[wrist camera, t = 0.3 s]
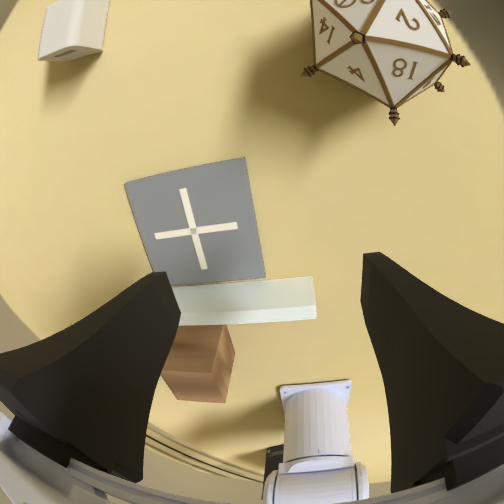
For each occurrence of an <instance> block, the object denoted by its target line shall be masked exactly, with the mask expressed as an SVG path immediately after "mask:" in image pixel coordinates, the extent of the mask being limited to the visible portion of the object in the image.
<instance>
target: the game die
mask: <svg viewBox="0 0 504 504" xmlns="http://www.w3.org/2000/svg"><path fill="white" fill-rule="evenodd" d="M310 7H311V19H312V34H313V51H314V65H313V66H310V67H309V66H308V68H306V69H305V68H304V71H303V73H302V75H301V76H310V77H311V75H313V74H314V73H315V72H316V71H320V72H323V73H325V74H327V75H329V76H331V77H333V78H335V79H338V80H340V81H342V82H344V83H346V84H348V85H350V86H352V87H353V88H355V89H357V90H359V91H361V92H363V93H365V94H367V95H368V96H370V97H372V98H374V99H375V100H377V101H379V102H381V103H382V104H384V105H386V106H387V107H389V108H390V112H389V115H390V117H389V119H390V120H391V121H392V123H393V125H394V126H395V125H396V123H397V122H398V120H399V119H400V118H399V113H398V112H397V108H398V107H399V106H401V105H402V104H404V103H406V102H407V101H409V100H410V99H412V98H414V97H415V96H417V95H418V94H420V93H422V92H423V91H425V90H427V89H428V88H430V87H431V86H433V85H434V86H435V89H437V91H438V92H439V91H441V92H444V86H443V85H442V84H441V83H440V82H437V81H438V80H439V79H440V77H441V76H442V75H443V73H444V72H445V71H446V69H447V68H448V67H449V65H450V64H451V63H452V61H454V62H455V63H456V64H457V65H461V66H462V67H464V66H468V65H471V64H470V63H469V62H468V61H467V60H466V58H465V56H460V54H458V55H455V54H453V51H452V48H451V45H450V41H449V38H448V35H447V32H446V29H445V26H444V23H443V20H442V18H447V17H448V18H450V17H449V16H450V13H451V12H449V11H447V10H445V9H443V10H440V12H437V11H436V10H435V9H434V7H433V6H432V5H431V4H430V3H429V2H428V1H427V0H310Z"/></svg>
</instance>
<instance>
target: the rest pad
mask: <svg viewBox="0 0 504 504" xmlns="http://www.w3.org/2000/svg"><path fill="white" fill-rule="evenodd" d="M124 185H125V188H126V192H127V195H128V198H129V202H130V205H131V208H132V211H133V214H134V217H135V220H136V224H137V227H138V230H139V232H140V235H141V238H142V241H143V244H144V247H145V250H146V252H147V255H148V258H149V261H150V263H151V266H152V269H153V271H154V272H163V271H166V273H167V276H168V279H169V282H170V284H171V285H181V284H196V283H209V282H223V281H235V280H247V279H259V278H266V274H265V268H264V262H263V257H262V251H261V245H260V239H259V234H258V228H257V222H256V217H255V211H254V206H253V200H252V194H251V189H250V183H249V178H248V172H247V167H246V161H245V157H244V158H238V159H232V160H226V161H220V162H215V163H209V164H204V165H199V166H194V167H189V168H184V169H180V170H175V171H171V172H166V173H162V174H158V175H154V176H149V177H145V178H141V179H138V180H134V181H130V182H126V183H124Z"/></svg>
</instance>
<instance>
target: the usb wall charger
mask: <svg viewBox="0 0 504 504" xmlns="http://www.w3.org/2000/svg"><path fill="white" fill-rule="evenodd" d="M109 3H110V1H108V0H60V1H58V2H56V3H54V4H52V5H50V6H48V7H47V8H46V12H45V17H44V22H43V27H42V32H41V38H40V45H39V53H38V60H39V61H70V60H74V59H77V58H80V57H83V56H87V55H90V54H94V53H98V52H101V51H102V50H103V41H104V34H105V27H106V20H107V14H108V8H109Z"/></svg>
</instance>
